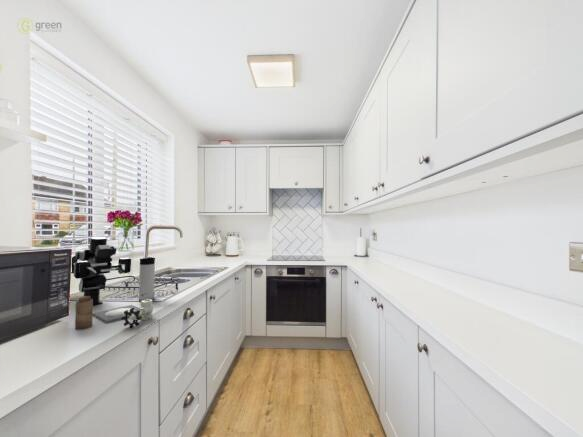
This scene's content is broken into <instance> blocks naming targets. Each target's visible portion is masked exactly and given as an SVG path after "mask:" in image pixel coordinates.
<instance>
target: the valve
mask: <svg viewBox="0 0 583 437" xmlns="http://www.w3.org/2000/svg"><path fill="white" fill-rule="evenodd" d="M153 300H154V299H153ZM153 300H150V299H148V300H143V301H140V307H139V308H140V309H139V310H138V311H136V312H134V308H131V309H130V312H128V310H126V311H124V314H125V316H123V317H122V318H121V319H122V321H125V322H124V323H123V326H124V327H126V326H128V325H129V329H133V328H134V327H135V326H136V327H137V326H139V325H141V324H140V323H141V322H139V321H141V320H142V321H146V320H151V319H152V318H153V311H154V307H153V302H154V301H153ZM131 313H133V314H131ZM128 315H130V317H129V318H127V317H128ZM129 320H130V321H129Z"/></svg>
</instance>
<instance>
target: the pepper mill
mask: <svg viewBox="0 0 583 437" xmlns="http://www.w3.org/2000/svg"><path fill="white" fill-rule="evenodd" d="M93 309H94V305H93V299H90V296H84V295H83V296H80V297H79V298H78V300H76V301H75V320H74V321H75V322H74V323H75V325H74V329H75V330H78V331H80V330H81V331H82V330H85V329H89V328H92V327H93V317H94V316H93V313H94V310H93Z"/></svg>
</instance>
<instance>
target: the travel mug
mask: <svg viewBox="0 0 583 437" xmlns="http://www.w3.org/2000/svg"><path fill="white" fill-rule="evenodd" d="M155 259H156V257H152V256H149V257H147V258H146V257H145V258H139V272H138V273H139V276H138V279H139V280H138V301H139V302H141V301H143V300H148V299H150V300H154V299H155V276H156V275H155V270H156V268H155V267H156V265H155V262H156V260H155Z"/></svg>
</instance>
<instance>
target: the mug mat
mask: <svg viewBox="0 0 583 437" xmlns="http://www.w3.org/2000/svg"><path fill="white" fill-rule="evenodd" d="M131 308H134V312H136V311H138V310H139V309H140V308H141V307H138V306H135V305H133V304H129V305H124V306H120V307H114V308H111V309H106V310H101V311H95V312H93V316H92V317H95V318H96V319H98V320H99V321H102V322H103V323H105V324H110V323H113V322H117V321H121V320H122V319H121V318H122V317H123V316H125V314H124V311H126V310H128V312H130V309H131ZM131 314H133V313H131ZM129 317H130V315H128V317H127V319H129ZM122 321H123V320H122Z"/></svg>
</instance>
